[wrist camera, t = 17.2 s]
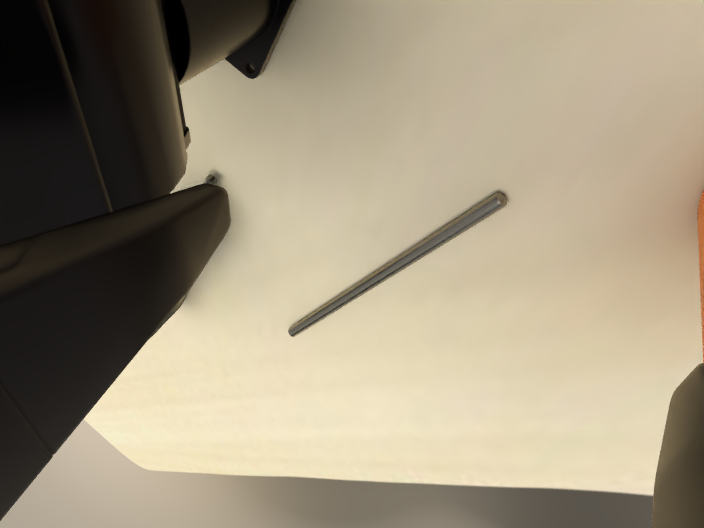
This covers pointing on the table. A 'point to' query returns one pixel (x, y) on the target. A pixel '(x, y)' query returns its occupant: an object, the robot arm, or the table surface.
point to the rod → (405, 260)
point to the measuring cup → (701, 258)
